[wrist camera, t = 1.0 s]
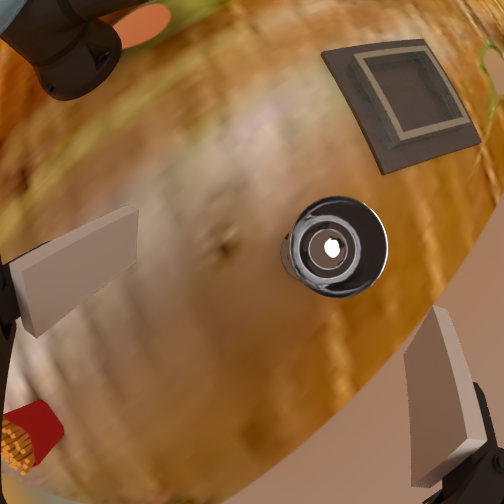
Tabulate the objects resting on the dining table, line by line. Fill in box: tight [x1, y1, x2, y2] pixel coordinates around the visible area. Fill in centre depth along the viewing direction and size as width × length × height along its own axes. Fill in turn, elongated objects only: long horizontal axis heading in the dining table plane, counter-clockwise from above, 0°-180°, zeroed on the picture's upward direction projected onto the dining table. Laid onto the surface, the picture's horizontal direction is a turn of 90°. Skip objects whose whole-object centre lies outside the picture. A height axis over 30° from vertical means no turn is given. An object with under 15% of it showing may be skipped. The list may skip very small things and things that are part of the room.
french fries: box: [1, 400, 64, 476], centre depth 32 cm, size 9×4×13 cm, turn 33°
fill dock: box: [321, 39, 482, 175], centre depth 38 cm, size 20×20×4 cm
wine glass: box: [281, 196, 388, 298], centre depth 31 cm, size 8×8×15 cm
